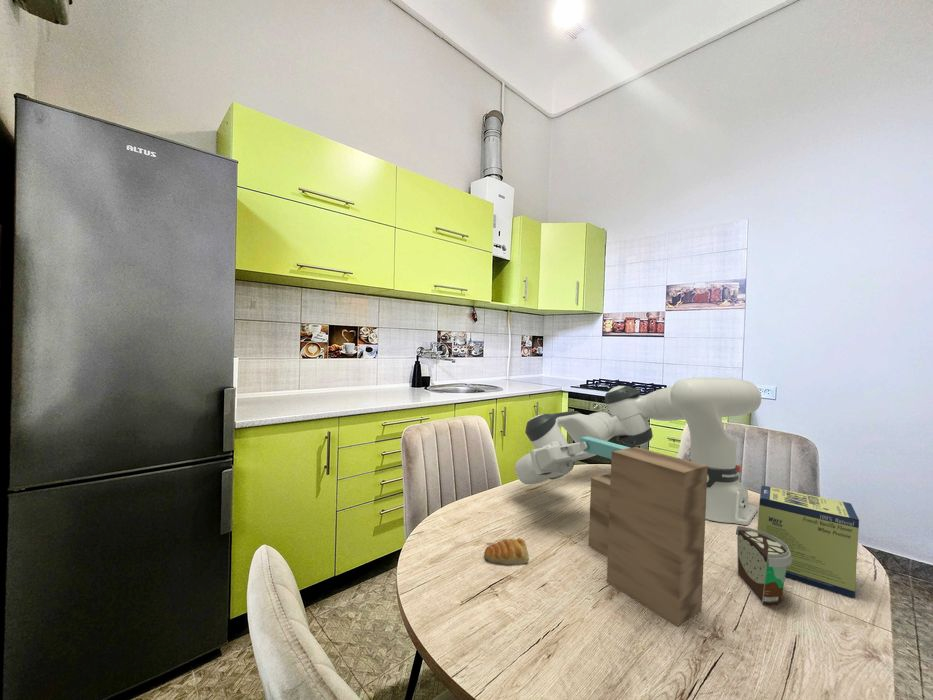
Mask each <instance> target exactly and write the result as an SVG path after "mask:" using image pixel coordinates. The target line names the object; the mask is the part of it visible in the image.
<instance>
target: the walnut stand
mask: <svg viewBox="0 0 933 700" xmlns="http://www.w3.org/2000/svg"><path fill="white" fill-rule="evenodd" d="M610 461H611V462H610V463H611V465H610V473H607V474H604V475H598V476H594V477H591V478H590V494H589V495H590V500H589V525H588V526H589V527H588V529H589V530H588V547H589V548H591V549H593V550H595V551H596V552H599V553H600V554H601V555H604V556H605V557H607V564H606V566H607V567H606V582H607V583H608V584H609V585H611V586H612V587H614V588H616V589H617V590H618V591H621V592H622V593H623V594H625V595H626V596H628V597H630V598H632V599H633V600H635V601H636V602H637V603H639V604H641V605H643V606H644V607H646V608H648V610H650V611H652V612H654V613H656V614H657V615H659V616H660V617H662V618H663V619H665V620H667V621H668V622H670V623H671V624H673V625H674V626H675V627H679V626H680V625H681V624H683V623H685V622H687V621H688V620H689V619H690V618H692V617H693V616H695V615H696V614H698V613H699V612H700V611H702V607H703V606H702V605H703V587H704V584H703V582H704V581H703V580H704V562H705V561H704V558H705V557H704V555H705V539H706V538H705V536H706V535H705V534H706V533H705V532H706V519H705V514H706V490H707V466H706V465H703V464H699V463H695V462H691V461H689V460H687V459H683V458H679V457H675V456H673V455H668V454H663V453H660V452H656V451H653V450H650V449H645V448H642V447H639V446H632V447H630V448H628V449H623V450H617V451H612V456H611V459H610Z"/></svg>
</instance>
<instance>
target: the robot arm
mask: <svg viewBox="0 0 933 700" xmlns="http://www.w3.org/2000/svg"><path fill="white" fill-rule="evenodd" d="M640 393H641V390H636V389H635V388H633V387H631V386H629V385H618V386H617V385H616V386H615V387H612V388H611V389H610V390H608V391H607V392H606V393H605V395H604V400H605V404H606V405H607V407H608V411H609V413H608V412H606V411H605V412H604V411H597V412H593V413H590V414H588V415H585V414H582V413H581V412H579V411H578V410H572V411H564V412H561V411H560V412H556V413H544V414H543V413H542V414H537V415H536V416H535V415H534V417H532V418H530V419H528V421H527V423H526V426H525V434H526V436H527V437H528V439H529V441H530V442H531V444H532V445H533V448H534V449H531V450H530V452H528V453H526V454H525V455H523V456H521V458H519V459H518V460H517V461H516V462H515V463H514V464H515V465H514V471H515V473H516V474H515V475H516V477H517V478H518V480H519V481H520V482H521V483H522V484H523V485H534V484H535V485H536V484H539V483H543V482H546V481H548V480H555V479H558V478H561V477H563V476H565V475H567V474H568V473H570V472H571V471H572V470H573V469H574V467H575V464H576V462H577V461H581V460H585V459H589V458H591V457H595V456H597V455H596V454H593V453H590V452H586V451H583V450H587V449H589V448H590V446H589V443H588V442H587V441H586V442H581V443H580V438H581V437H588V436H589V437H592V438H596V439H600V440H604V441H607V442H609V440H610V439H612V438H613V437H616V438H615V440H616V441H617V442H621V443H622V444H624V445H625V446H628V447H640V446H644V445H646V444H647V443H649V442H650V441H651V440H652V438H654V435H653V430H652V427H650V423H649V420H648V418H649V419H651V420H655V421H661V422H668V421H669V422H672V421H673V422H674V421H681V420H682V421H683V420H684V421H685V422H686V424H687V426H688V430H689V435H690V436H689V437H690V457H689V459H688V461H691V462H695V463H699V464H703V465H706V466H707V490H706V514H705V520H709V521H714V522H719V523H728V524H729V523H731V524H737V525H741V526H743V525H744V526H747V525H748V526H749V524H750V523H751V521H752V520H753V519H752V518H754V517H755V516H754V515H756V514H757V513H758V507H757V506H755V505H753V504H751V503H749V491H748V489H747V488H746V487H745V486H744V485H743V484H742V483H741V482H740V481H739V478H740V477H739V473H741V472H742V466H741V465H740V464H737V463H736V462H737V461H736V460H737V440H736V438H735V436H734V435H733V434H731V433H730V432H729V431H727V430H726V429H725V427H724V425H723V424H724V423H723V420H722V419H723V418H727V417H738V416H744V415H748V414H752V413H755V412H756V411H757V410H759V407H761V403H762V394H761V392H760V389H759V387H758V386H757V385H755V384H754V383H753V382H751V381H747V380H744V379H740V378H736V377H695V376H693V377H690V378H684V379H679V380H678V381H675V382H674V384H673V385H672V386H668V387H663V388H660V389H657V390H654V391H651V392H649V393H648V394H645V395H641V394H640ZM561 428H563V429H564V430H565V432H567V433H568V435H569V436H570V437H571V438H572V440H573V442H574V443H568V441H567V439H566V437H565V435H564V434H563V432H562V430H561ZM756 512H757V513H756Z"/></svg>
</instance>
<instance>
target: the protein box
mask: <svg viewBox="0 0 933 700" xmlns="http://www.w3.org/2000/svg"><path fill="white" fill-rule="evenodd" d="M757 513H758V515H757V529H756V530H759V531H762V532H765V533H767V534H770V535H772V536H774V537H776V538H778V539H779V540H781V541H782V542H784V543H785V544H786V545H787V546H788V549H789V551H790V553H791V558H792V563H791V565H789V566H787V568H786V574H785V578H788V579H790V578H791V580H793V581H797V582H800V583H804V584H807V585H809V586H813V587H816V588H819V589H822V590H825V591H829V592H832V593H835V594H838V595H842V596H844V597H847V598H851V599H853V598H854V599H855V598H856V597H855V596H856V581H857V579H856V578H857V562H858V559H857V558H858V546H859V532H860V531H859V530H860V529H859V528H860V519H859V517H858V515H857V513H856V510H855V509H854V507H853V504H852V503H850V502H845V501H842V500H836V499H830V498H826V497H820V496H816V495H810V494H807V493H806V494H805V493H800V492H797V491H796V492H795V491H791V490H787V489H782V488H777V487H772V486H767V485H761V489H760V496H759V503H758V512H757Z"/></svg>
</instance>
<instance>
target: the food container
mask: <svg viewBox="0 0 933 700" xmlns="http://www.w3.org/2000/svg"><path fill="white" fill-rule="evenodd" d="M735 535H737V536H736V537H737V538H736V539H737V542H736V543H737V576H738V578H739V579H740V580H741V581H742V582H743V584H744V585H745V586H746V587H747V589H749V591H750V592H751V593H752V594H753V595H754V596H755V598H756V599H757V600H758V602H759V603H760V604H761V605H762V606H769V607H770V606H771V607H772V606H778V605H779V604H781V603H782V601H783V593H784V586H785V581H786V577H785V574H786V568H787V566H789V565H791V563H792V558H791V553H790V551H789V549H788V546H787V545H786V544H785V543H784V542H782V541H781V540H779V539H778V538H776V537H774V536H772V535H770V534H767V533H765V532H762V531H759V530H757V529H755V528H751V527H747V526H743V525H737V528H736V531H735Z"/></svg>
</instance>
